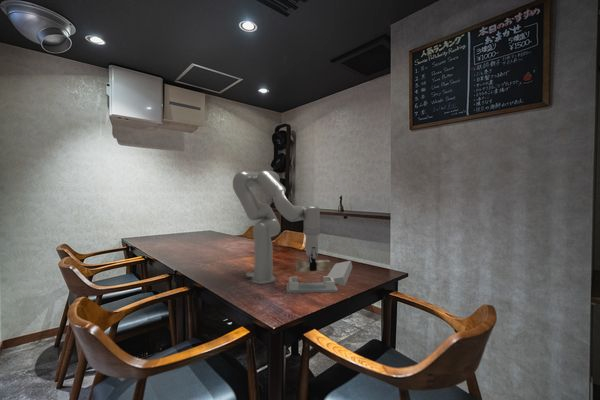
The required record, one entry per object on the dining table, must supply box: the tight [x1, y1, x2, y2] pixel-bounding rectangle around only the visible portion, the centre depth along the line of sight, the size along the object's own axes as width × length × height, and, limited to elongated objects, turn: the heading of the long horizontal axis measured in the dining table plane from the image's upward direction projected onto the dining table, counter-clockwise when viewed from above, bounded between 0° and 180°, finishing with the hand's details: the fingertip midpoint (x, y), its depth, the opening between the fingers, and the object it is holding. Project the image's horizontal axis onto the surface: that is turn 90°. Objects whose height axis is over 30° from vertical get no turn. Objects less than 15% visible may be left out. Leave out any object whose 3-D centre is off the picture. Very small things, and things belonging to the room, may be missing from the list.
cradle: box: [285, 275, 339, 294], centre depth 127 cm, size 24×10×4 cm, turn 94°
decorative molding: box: [327, 260, 353, 287], centre depth 148 cm, size 34×5×10 cm
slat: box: [295, 259, 331, 273], centre depth 126 cm, size 16×4×4 cm, turn 94°
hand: (312, 268), depth 126 cm, fingers closed on slat, 4 cm apart
